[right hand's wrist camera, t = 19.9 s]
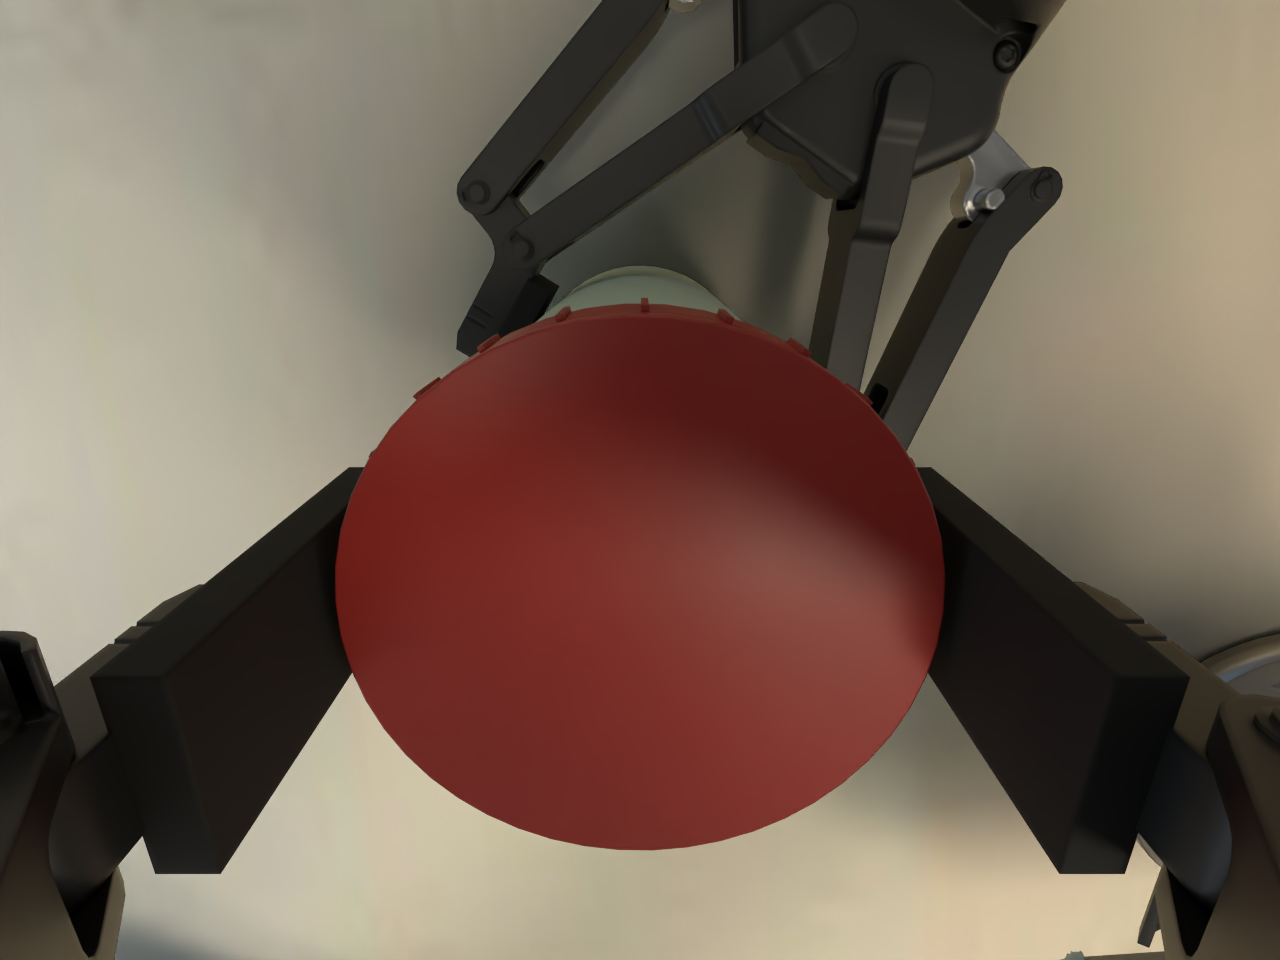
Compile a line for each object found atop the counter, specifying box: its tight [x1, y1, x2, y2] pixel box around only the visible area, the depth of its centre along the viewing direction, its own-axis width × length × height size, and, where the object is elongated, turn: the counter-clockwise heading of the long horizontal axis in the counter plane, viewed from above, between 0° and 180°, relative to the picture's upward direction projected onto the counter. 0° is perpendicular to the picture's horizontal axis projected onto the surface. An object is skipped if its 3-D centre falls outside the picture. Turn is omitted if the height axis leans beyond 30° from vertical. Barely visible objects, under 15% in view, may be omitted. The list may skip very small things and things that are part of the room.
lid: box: [335, 298, 945, 850], centre depth 11 cm, size 9×9×2 cm
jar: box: [535, 266, 744, 323], centre depth 20 cm, size 9×9×18 cm
